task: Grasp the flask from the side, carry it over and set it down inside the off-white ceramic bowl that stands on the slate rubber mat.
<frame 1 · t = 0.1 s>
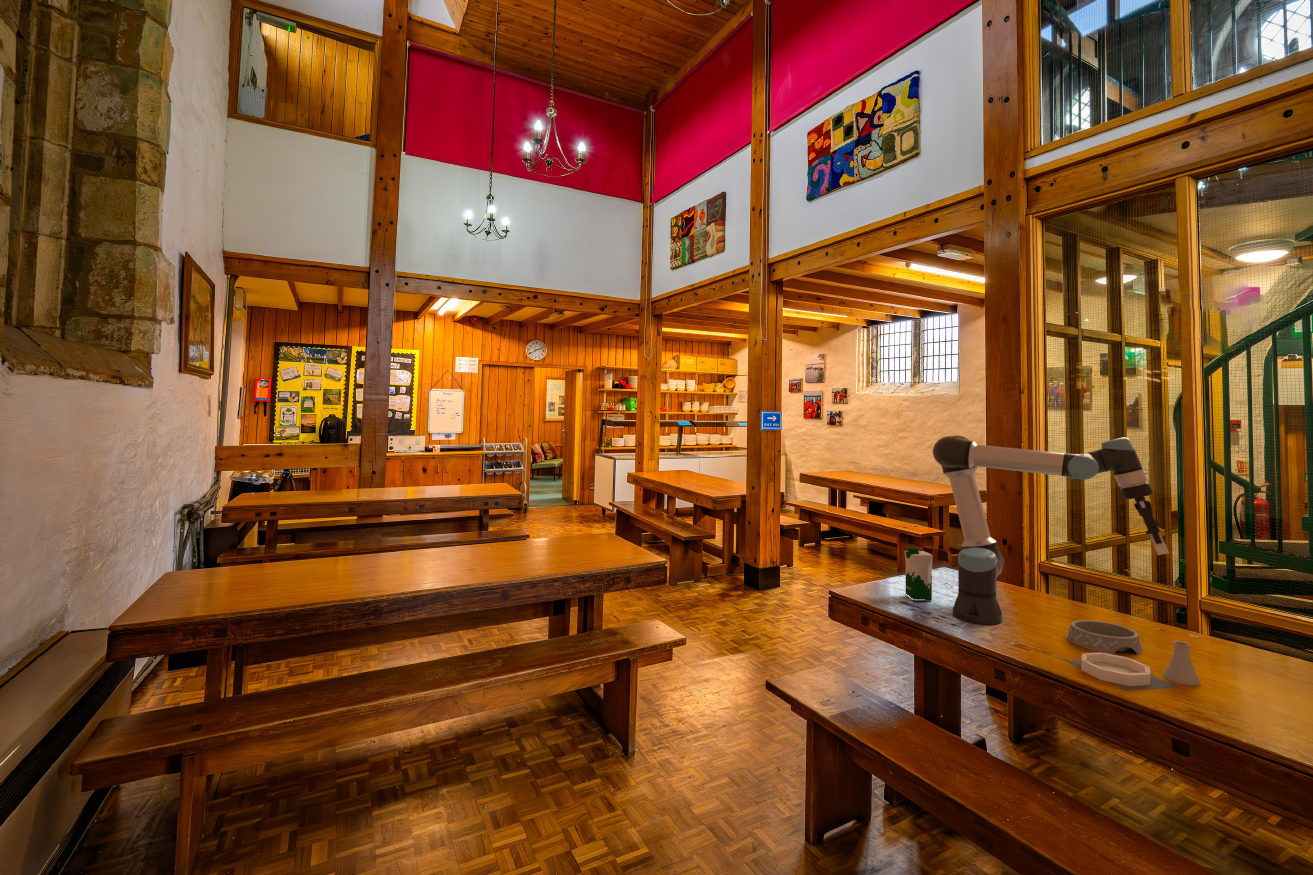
hand: (1161, 550, 175), 28 cm above the table, tool tilted 20°, fingers open, 13 cm apart
bowl: (1114, 673, 149), resting on mat
mat: (1120, 674, 149), on the table
milk carton: (918, 599, 217), on the table
flask: (1181, 682, 145), on the table
dog bowl: (1103, 646, 170), on the table
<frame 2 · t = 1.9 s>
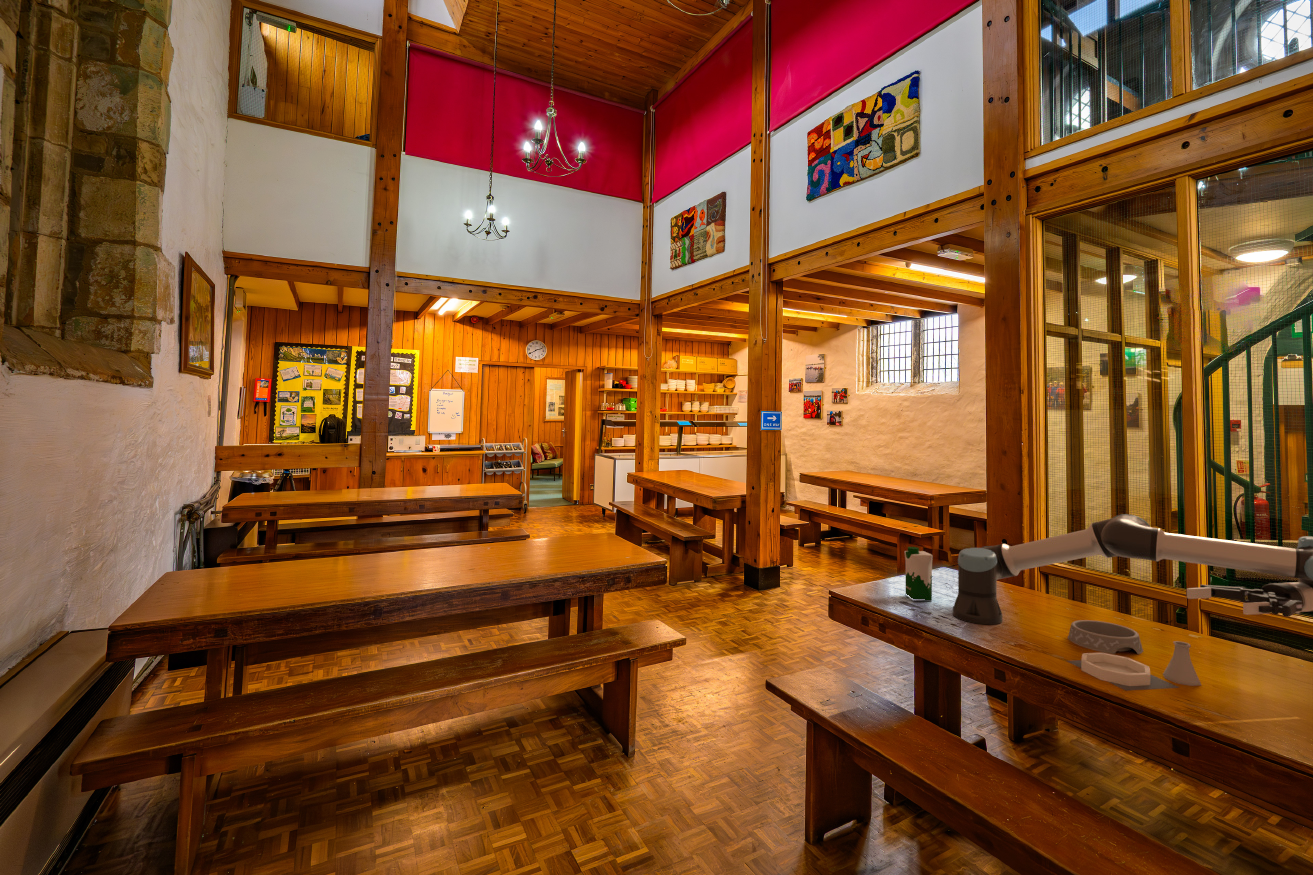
hand: (1215, 600, 146), 21 cm above the table, tool horizontal, fingers open, 13 cm apart
nothing on the table moved.
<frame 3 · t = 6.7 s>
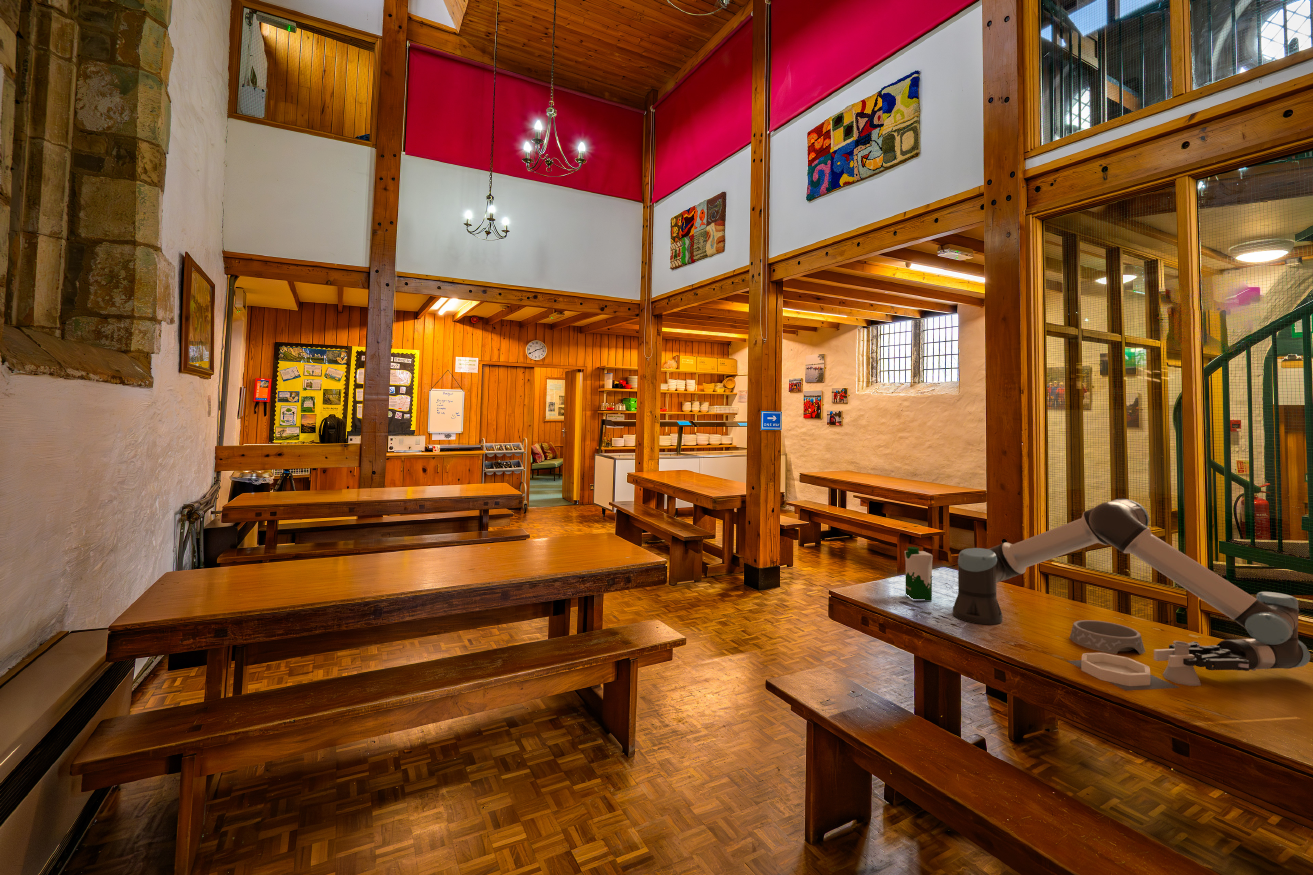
hand: (1162, 658, 145), 6 cm above the table, tool horizontal, fingers closed on flask, 3 cm apart
flask: (1181, 681, 145), on the table, touching gripper
everything else where it was.
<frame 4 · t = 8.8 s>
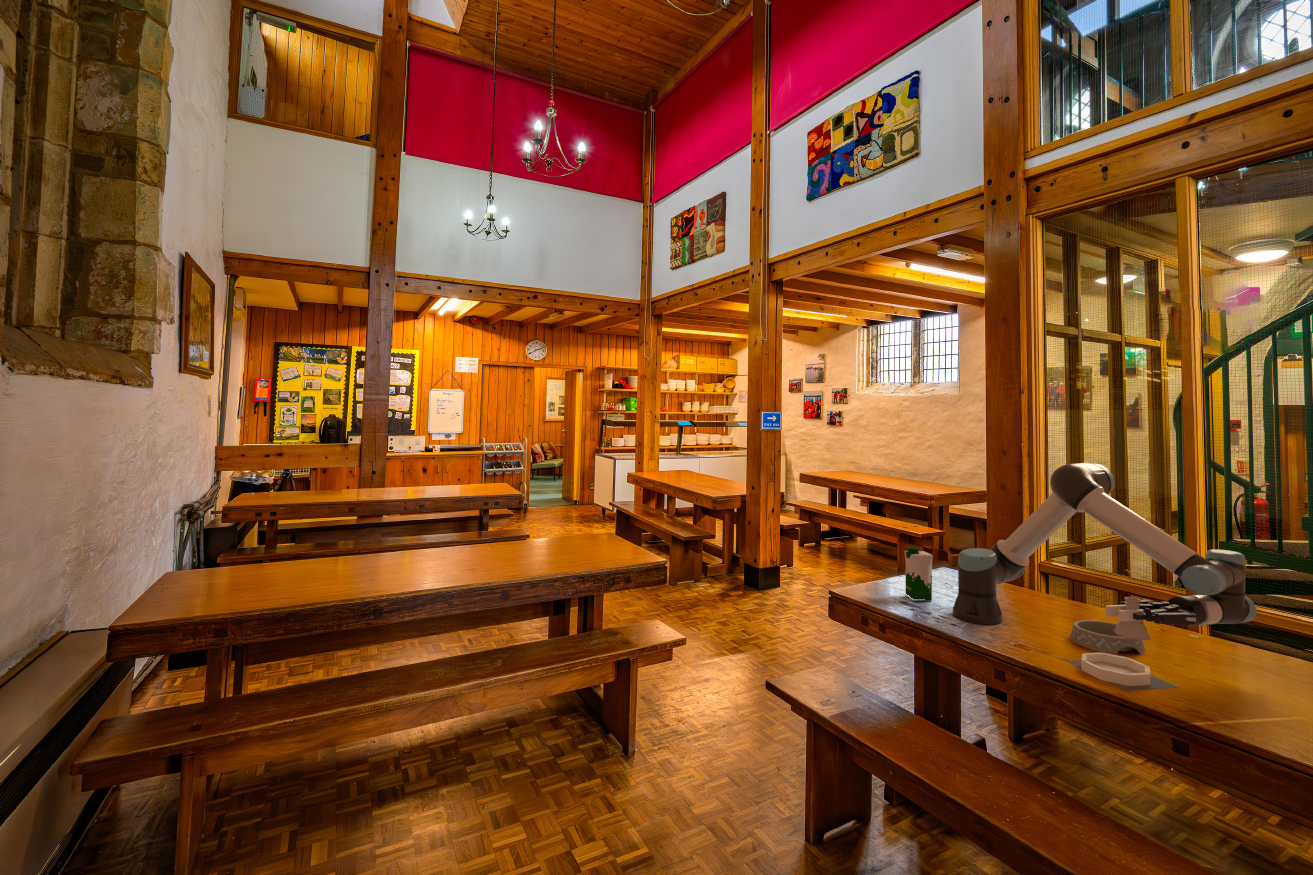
hand: (1113, 613, 147), 17 cm above the table, tool horizontal, fingers closed on flask, 3 cm apart
flask: (1131, 636, 147), point 11 cm above the table, touching gripper
everything else where it was.
when the fingers open (9 cm above the table, at t = 11.0 s): flask drops 1 cm, resting on bowl.
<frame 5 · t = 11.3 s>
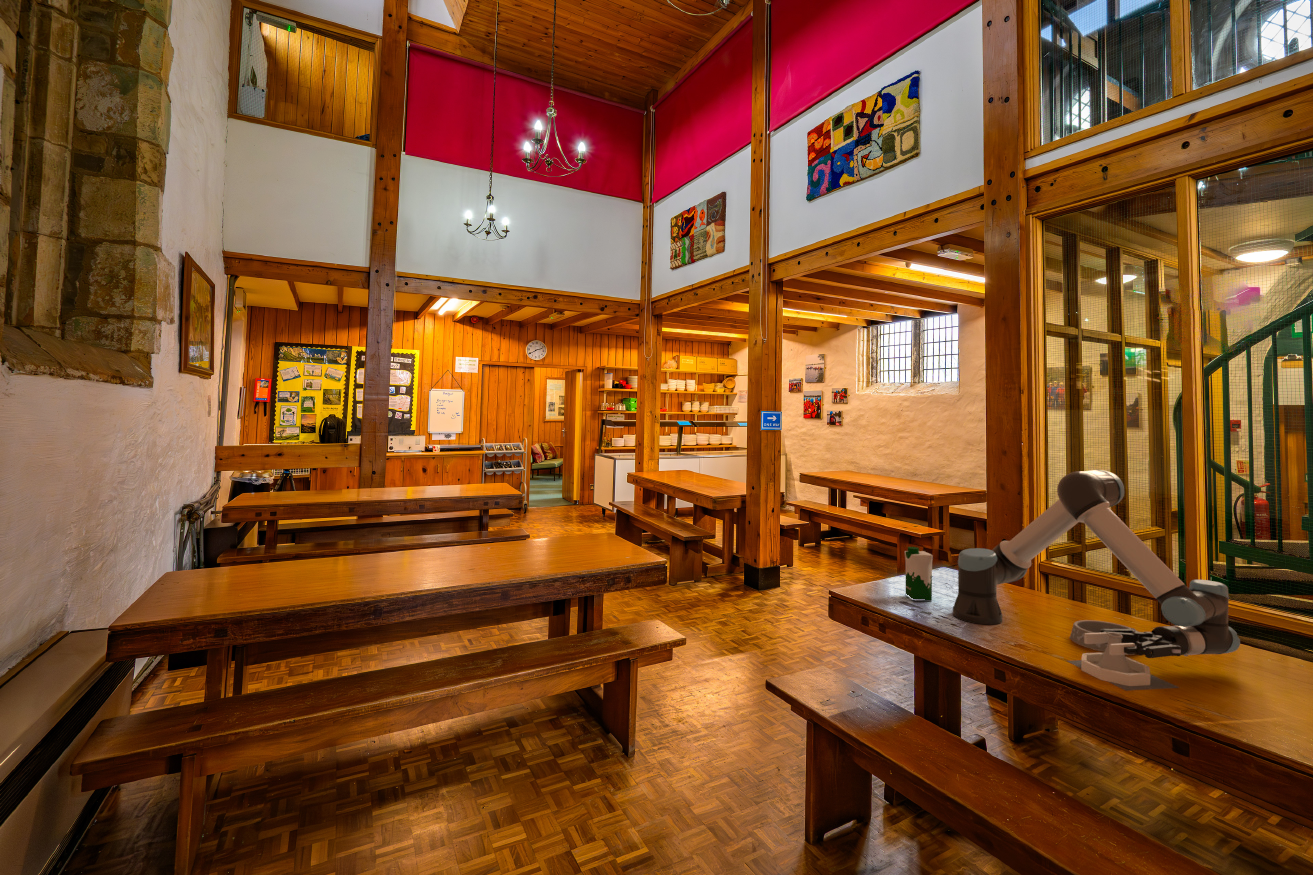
hand: (1097, 643, 148), 9 cm above the table, tool horizontal, fingers open, 7 cm apart
flask: (1114, 672, 149), point 1 cm above the table, touching bowl
everything else where it was.
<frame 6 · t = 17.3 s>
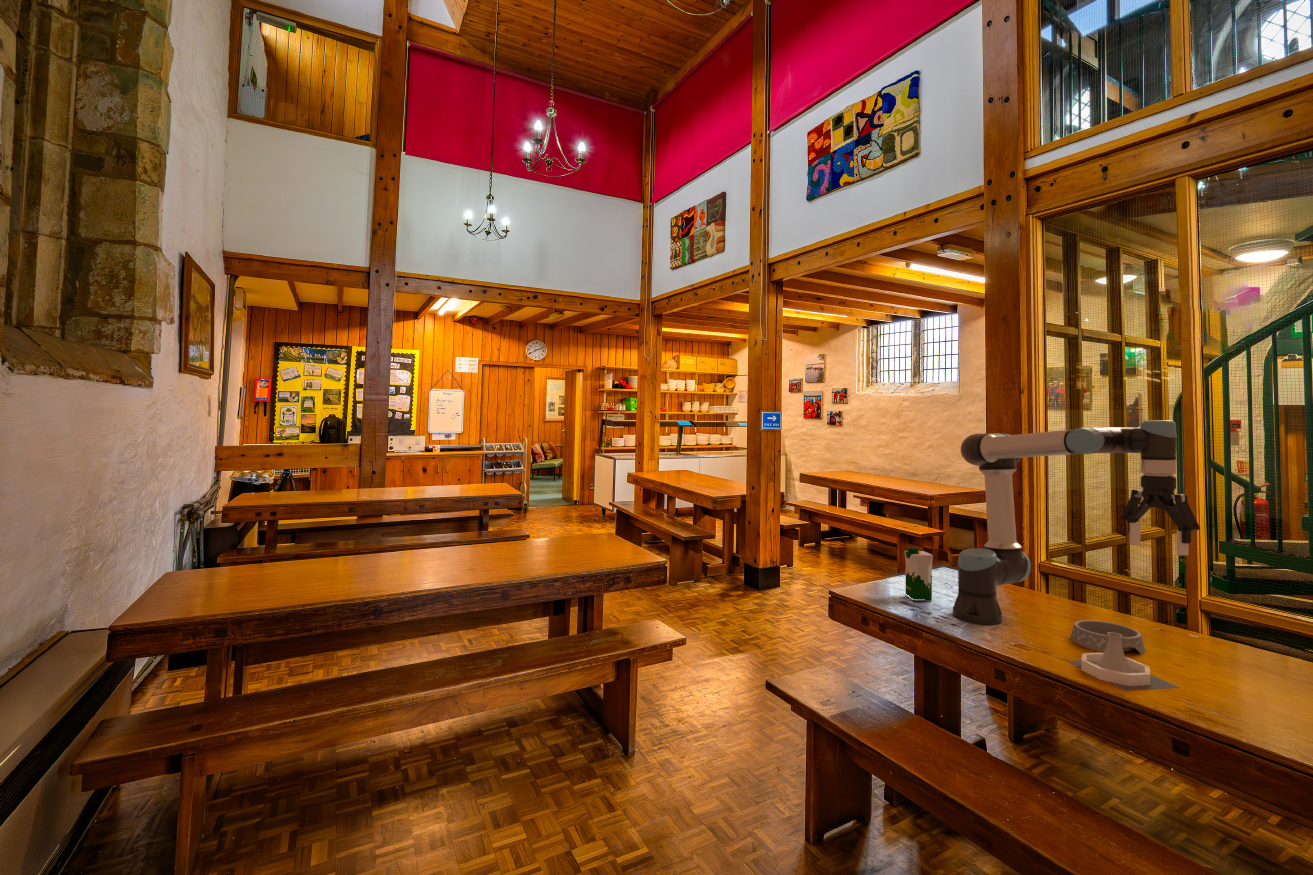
hand: (1157, 549, 157), 32 cm above the table, tool pointing down, fingers open, 13 cm apart
nothing on the table moved.
at the end: flask 0.0 cm from the bowl (horizontally); flask tilted 0°; flask touching bowl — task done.
